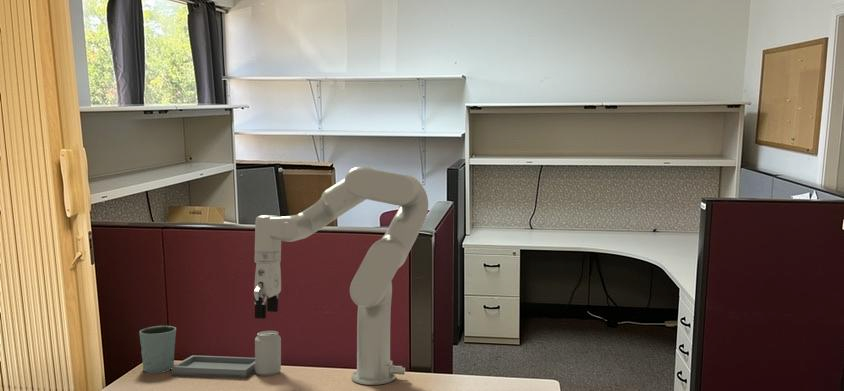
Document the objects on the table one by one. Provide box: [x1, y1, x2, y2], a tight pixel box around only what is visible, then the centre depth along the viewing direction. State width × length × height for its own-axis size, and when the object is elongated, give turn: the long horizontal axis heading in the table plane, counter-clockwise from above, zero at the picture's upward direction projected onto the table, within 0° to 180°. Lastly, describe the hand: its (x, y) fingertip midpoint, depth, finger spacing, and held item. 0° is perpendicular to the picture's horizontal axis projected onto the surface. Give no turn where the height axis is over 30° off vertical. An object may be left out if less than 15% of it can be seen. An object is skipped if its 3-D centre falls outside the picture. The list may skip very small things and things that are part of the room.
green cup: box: [138, 325, 177, 374], centre depth 186 cm, size 10×10×12 cm
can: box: [254, 330, 282, 377], centre depth 183 cm, size 8×8×12 cm
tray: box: [171, 355, 256, 380], centre depth 185 cm, size 22×12×2 cm, turn 83°
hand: (266, 314), depth 183 cm, fingers open, 9 cm apart
